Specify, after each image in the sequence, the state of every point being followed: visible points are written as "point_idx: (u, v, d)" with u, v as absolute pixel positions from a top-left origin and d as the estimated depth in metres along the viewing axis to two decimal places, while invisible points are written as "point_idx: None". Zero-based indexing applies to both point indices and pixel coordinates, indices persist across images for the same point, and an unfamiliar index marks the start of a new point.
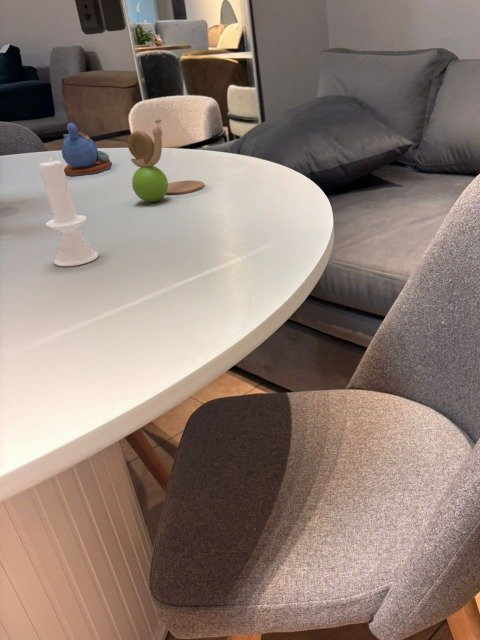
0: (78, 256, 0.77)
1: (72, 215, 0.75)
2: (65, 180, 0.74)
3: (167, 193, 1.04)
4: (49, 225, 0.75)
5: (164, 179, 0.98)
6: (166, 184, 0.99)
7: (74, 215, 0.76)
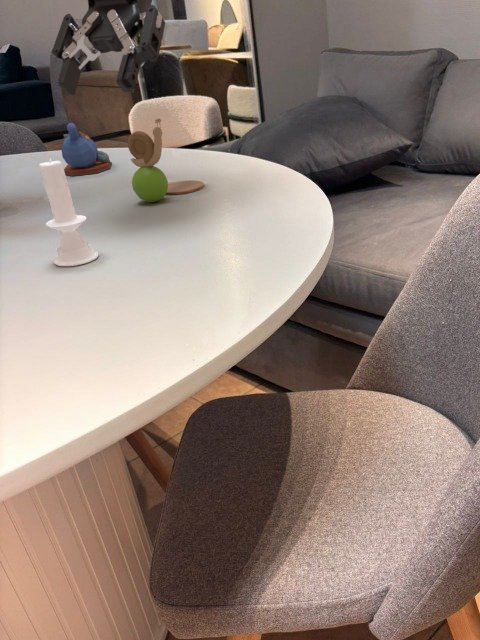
0: (78, 256, 0.77)
1: (72, 215, 0.75)
2: (65, 180, 0.74)
3: (167, 193, 1.04)
4: (49, 225, 0.75)
5: (164, 179, 0.98)
6: (166, 184, 0.99)
7: (74, 215, 0.76)
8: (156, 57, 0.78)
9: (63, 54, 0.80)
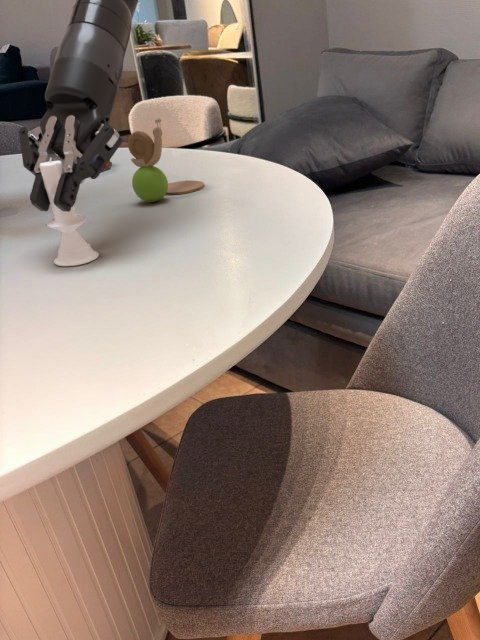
0: (78, 255, 0.77)
1: (72, 215, 0.75)
2: None
3: (167, 193, 1.04)
4: (49, 225, 0.75)
5: (164, 179, 0.98)
6: (166, 184, 0.99)
7: (74, 215, 0.75)
8: (94, 176, 0.74)
9: (36, 169, 0.74)
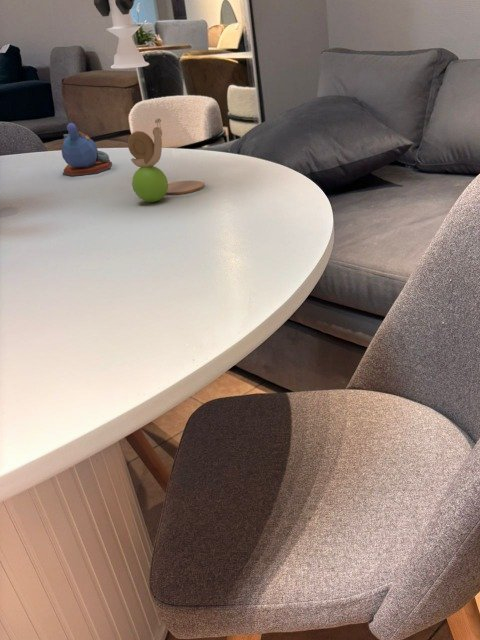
0: (133, 59, 0.87)
1: (129, 21, 0.86)
2: None
3: (167, 193, 1.04)
4: (109, 28, 0.85)
5: (164, 179, 0.98)
6: (166, 184, 0.99)
7: (130, 21, 0.86)
8: None
9: None
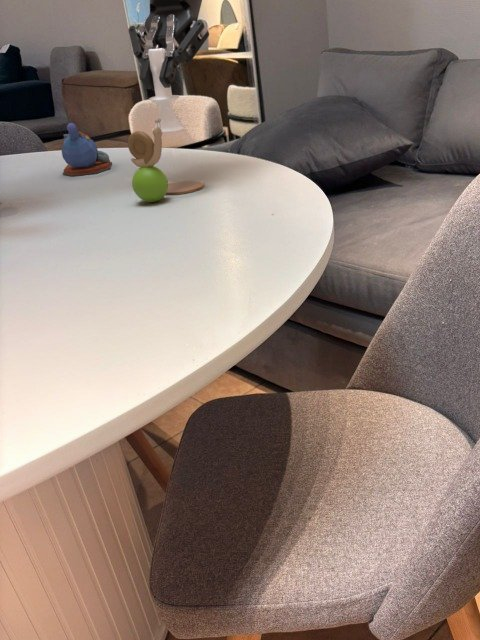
0: (172, 125, 1.00)
1: (169, 92, 0.99)
2: None
3: (167, 193, 1.04)
4: (152, 99, 0.98)
5: (164, 179, 0.98)
6: (166, 184, 0.99)
7: (171, 92, 0.99)
8: (188, 61, 0.97)
9: (144, 56, 0.97)
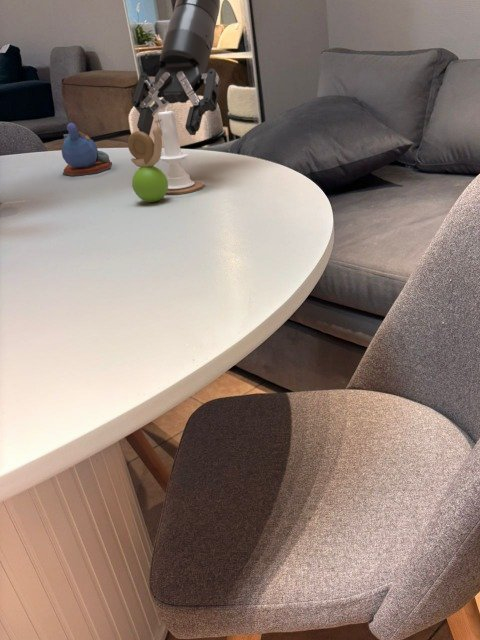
0: (182, 182, 1.05)
1: (179, 151, 1.04)
2: (175, 125, 1.02)
3: (167, 193, 1.04)
4: (162, 158, 1.03)
5: (164, 179, 0.98)
6: (166, 184, 0.99)
7: (180, 151, 1.04)
8: (215, 108, 1.01)
9: (141, 104, 1.02)
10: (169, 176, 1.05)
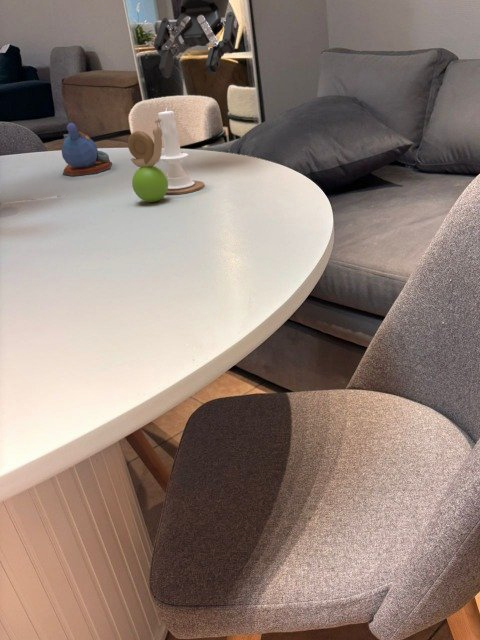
0: (182, 182, 1.05)
1: (179, 151, 1.04)
2: (175, 125, 1.02)
3: (167, 193, 1.04)
4: (162, 158, 1.03)
5: (164, 179, 0.98)
6: (166, 184, 0.99)
7: (180, 151, 1.04)
8: (233, 50, 1.06)
9: (163, 47, 1.08)
10: (169, 176, 1.05)
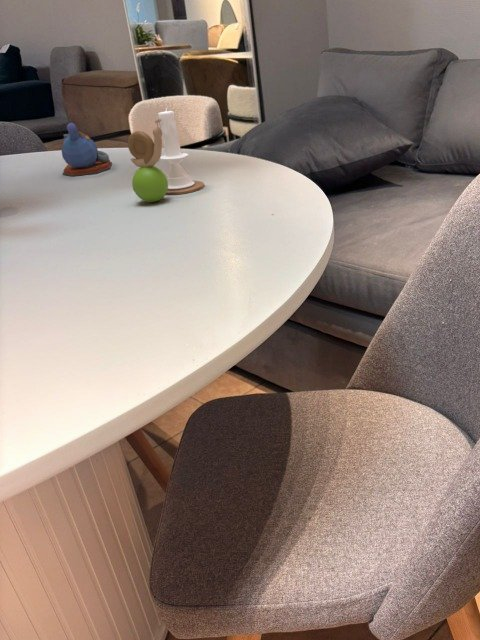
0: (182, 182, 1.05)
1: (179, 151, 1.04)
2: (175, 125, 1.02)
3: (167, 193, 1.04)
4: (162, 158, 1.03)
5: (164, 179, 0.98)
6: (166, 184, 0.99)
7: (180, 151, 1.04)
8: None
9: None
10: (169, 176, 1.05)
